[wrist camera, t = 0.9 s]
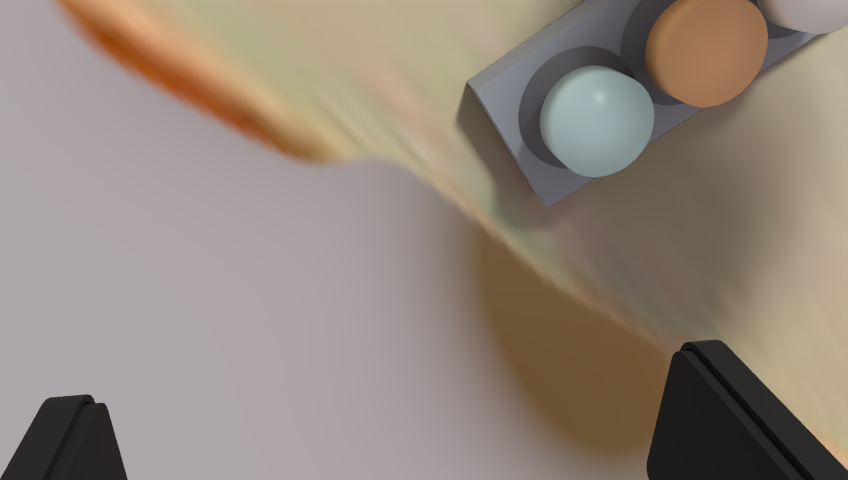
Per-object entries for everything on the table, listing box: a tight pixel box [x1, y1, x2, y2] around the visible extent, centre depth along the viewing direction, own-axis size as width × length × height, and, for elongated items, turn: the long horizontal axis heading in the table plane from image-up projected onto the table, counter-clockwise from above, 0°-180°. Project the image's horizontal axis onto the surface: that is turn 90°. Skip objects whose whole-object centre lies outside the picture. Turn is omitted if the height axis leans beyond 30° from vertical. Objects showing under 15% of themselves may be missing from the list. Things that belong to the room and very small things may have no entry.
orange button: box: [645, 0, 768, 107], centre depth 30 cm, size 5×5×2 cm
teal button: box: [540, 65, 654, 177], centre depth 30 cm, size 5×5×2 cm
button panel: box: [467, 0, 818, 209], centre depth 33 cm, size 20×8×2 cm, turn 123°
